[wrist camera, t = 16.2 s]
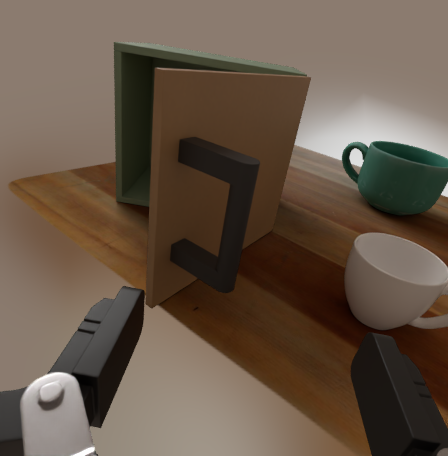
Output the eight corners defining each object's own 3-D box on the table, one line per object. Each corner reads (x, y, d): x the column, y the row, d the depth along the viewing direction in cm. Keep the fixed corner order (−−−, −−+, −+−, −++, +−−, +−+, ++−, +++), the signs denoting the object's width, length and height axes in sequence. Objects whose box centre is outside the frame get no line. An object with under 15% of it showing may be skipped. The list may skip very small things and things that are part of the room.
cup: (342, 277, 36) (364, 223, 33) (443, 322, 32) (480, 266, 29) (320, 316, 30) (344, 255, 27) (441, 378, 26) (487, 315, 23)
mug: (436, 212, 58) (463, 160, 53) (416, 232, 49) (446, 172, 44) (348, 179, 67) (365, 132, 62) (318, 191, 58) (335, 138, 53)
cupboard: (269, 227, 44) (307, 74, 34) (116, 201, 44) (113, 41, 34) (266, 190, 55) (294, 67, 46) (144, 169, 55) (148, 43, 46)
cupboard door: (313, 249, 40) (367, 88, 31) (204, 348, 25) (248, 90, 16) (267, 227, 43) (304, 76, 34) (145, 304, 28) (154, 67, 19)
